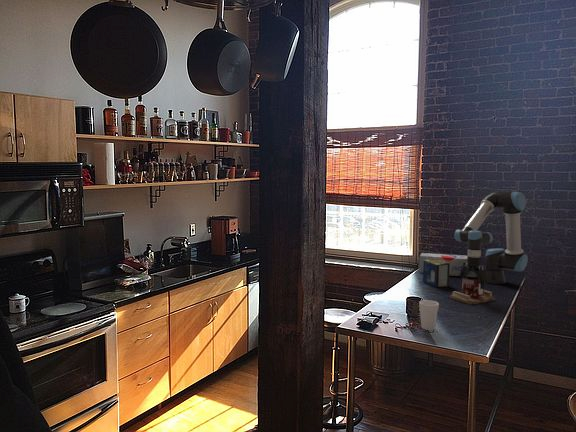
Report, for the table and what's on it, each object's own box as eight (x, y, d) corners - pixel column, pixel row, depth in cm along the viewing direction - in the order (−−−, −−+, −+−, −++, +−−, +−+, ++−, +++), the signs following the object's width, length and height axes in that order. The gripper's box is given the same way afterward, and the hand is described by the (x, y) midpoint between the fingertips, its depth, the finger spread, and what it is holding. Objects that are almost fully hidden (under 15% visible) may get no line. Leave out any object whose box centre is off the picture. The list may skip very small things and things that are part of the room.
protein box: (435, 280, 339) (436, 258, 338) (449, 286, 325) (450, 263, 323) (422, 281, 336) (423, 259, 334) (435, 287, 322) (436, 264, 320)
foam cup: (415, 324, 248) (416, 300, 247) (433, 324, 249) (434, 299, 248) (422, 331, 239) (423, 305, 238) (440, 331, 240) (441, 305, 238)
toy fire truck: (481, 299, 288) (482, 282, 288) (460, 295, 296) (461, 278, 295) (484, 297, 294) (485, 280, 293) (463, 293, 301) (464, 277, 300)
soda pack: (476, 274, 359) (477, 256, 358) (476, 278, 347) (477, 259, 346) (420, 269, 374) (421, 251, 373) (418, 273, 363) (419, 254, 361)
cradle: (473, 293, 307) (473, 286, 306) (494, 300, 292) (494, 293, 292) (449, 297, 298) (450, 290, 297) (470, 304, 283) (470, 297, 283)
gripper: (454, 253, 301) (452, 287, 303) (485, 260, 279) (484, 297, 282) (463, 252, 304) (461, 285, 307) (495, 259, 283) (493, 295, 285)
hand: (472, 291), depth 294 cm, fingers open, 12 cm apart
